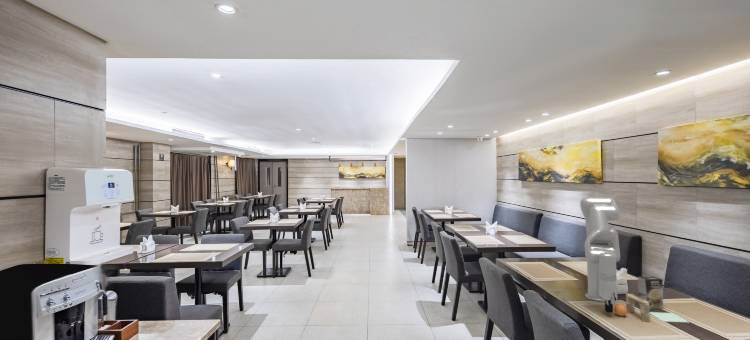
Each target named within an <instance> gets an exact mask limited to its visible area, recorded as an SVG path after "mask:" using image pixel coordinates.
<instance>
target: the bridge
mask: <svg viewBox="0 0 750 340" xmlns="http://www.w3.org/2000/svg"><path fill="white" fill-rule="evenodd" d="M635 302H636V303H637V304H639V303H640V305H639V308H640V310H639V311H640V313H639V314H640V321H641V322H646V323H647V322H648V323H650V322H651V321H650V320H651V317H650V316H651V314H650V309H649V303H648V302H646V301H645V300H643V299H641V298H639V296H637V295H635V294H634V293H625V303H626V306H625V308H626V309H627V313H636V307H635Z"/></svg>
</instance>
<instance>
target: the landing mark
mask: <svg viewBox="0 0 750 340" xmlns="http://www.w3.org/2000/svg"><path fill="white" fill-rule="evenodd" d="M649 312H650V311H649ZM650 316H653V317H654V318H656V319H658V320H659V321H661V322H666V323H667V322H669V323H690V321H688V320H687V319H684V318H682V317H681V316H679V315H677V314H675V313H673V312H656V311H651V312H650Z"/></svg>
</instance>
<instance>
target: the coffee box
mask: <svg viewBox="0 0 750 340" xmlns="http://www.w3.org/2000/svg"><path fill="white" fill-rule="evenodd" d="M637 284H638V286H637V288H638V289H637V290H638V291H637V292H638V297H639V298H641V299H643V300H645V301H646V302H648V303H649V310H651V309H652V310H658V309H659V310H660V309H661V310H664V287H663V286H664V285H663V279H662V278H661V277H656V276H637ZM638 306H640V303H638Z"/></svg>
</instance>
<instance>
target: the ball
mask: <svg viewBox="0 0 750 340" xmlns="http://www.w3.org/2000/svg"><path fill="white" fill-rule="evenodd" d="M613 312H614V313H615V314H616V315H618V316H620V317H624V316H626V315H627V314H628V311H627V309H626V306H624V305H622V304H615V306H614V307H613Z"/></svg>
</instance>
